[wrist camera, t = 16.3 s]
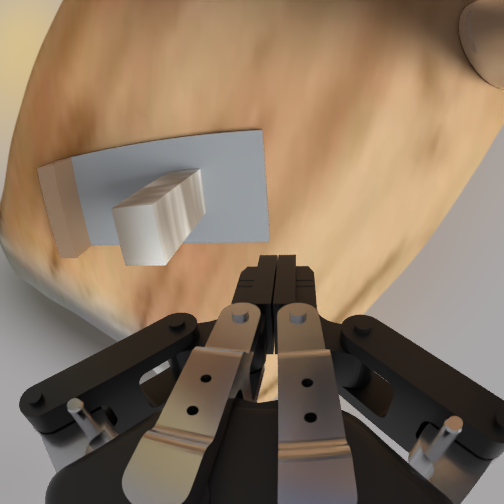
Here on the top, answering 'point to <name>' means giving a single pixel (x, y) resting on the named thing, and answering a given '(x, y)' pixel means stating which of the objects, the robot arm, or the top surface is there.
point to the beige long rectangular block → (159, 217)
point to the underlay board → (148, 170)
